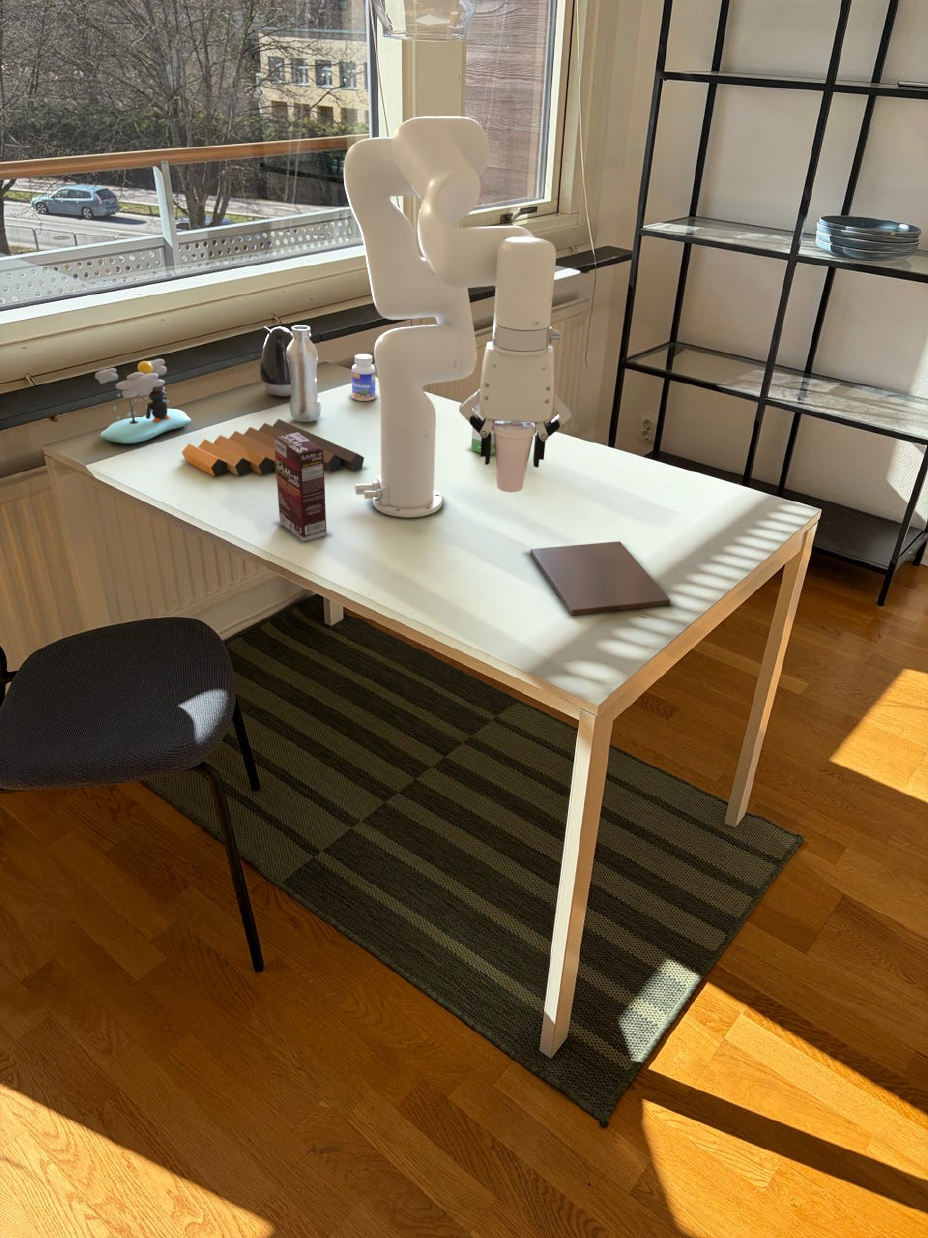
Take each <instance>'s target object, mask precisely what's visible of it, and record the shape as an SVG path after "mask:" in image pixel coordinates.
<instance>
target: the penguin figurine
mask: <svg viewBox="0 0 928 1238" xmlns="http://www.w3.org/2000/svg"><path fill="white" fill-rule="evenodd" d="M165 364H166V362H165V360H164V359H163V358H157V359H153V360H148V361H147V360H143V361H140V362H139V363H138V365H137V371H136V372H132V373H131V374H130V371H128V372H127V371H124V373H125V376H126V379H125V380H122V381H119V382H117V383H116V384H115V388H116V389H117V390H122V391H121V393H116V396H117V398H118V399H119V398H120V397H121V395H122V397H123V399H129V400H128V401H129V405H130V411H129V412H128V413H127V414H125V415H126V417H127V418H125V419H121V418H120V416H117V417H115V418H116V420H118V421H115V422H113V423H111V425H109V426H108V427H107V428H106V429H104V430H103V431H101V433H100V434H99V436H100V439H103V440H106V441H108V442H113V443H118V444H137V443H140V442H141V443H143V442H146V441H148V440H152V439H153V438H155V437H157V436H158V435H159V436H160V435H161V434H164V433H165V432H169V431H172V430H177V429H181V428H183V427H185V426H187V425H189V424H190V423H191V422H192V421H193V420H192V419H191V418H190V417H189V416H188V415H187V413H185V412H184V411H183V410H180V409H177V408H175V409H174V408H168V404H169V400H168V399H167V397H168V393H167V392H166V391H165V390H166V387H165V386H164V385H165V384H166V381H165V380H163V379H162V378H159V376H163V375H165V374H166V373H167V369H168V368H167V367H166V366H165ZM124 370H127V369H126V367H125V368H124ZM94 378H95V380H98V382H99V384H100V385H103V384H106V383H109V382H114V381H116V380H118V378H119V376H118V374H117V369H116V368H114V367H111V368H107V369H101V370H99V371H97V372H95V375H94ZM137 396H139V397H143V396H144V397H143V398H144V399H143V400H148V399H150V400H151V402H148V403H147V405H146V406H145V409H146V412H145V414H144V415H143V416H138V417H135V415H136V414H137V410H134V405H136V403H137V401H139V402H140V403H142V401H143V400H142V398H135V397H137ZM132 398H134V401H133V400H132ZM116 409H117V407H116V405H113V406H112V410H116Z"/></svg>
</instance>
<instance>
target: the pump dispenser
mask: <svg viewBox="0 0 928 1238" xmlns="http://www.w3.org/2000/svg"><path fill="white" fill-rule="evenodd" d="M261 331H262V332H263V333H264V334H265V335H266V338H265V341H264V344H263V348H262V352H261V357H260V366H259V379H260V381H261V382H262V385H263V388H265V390H266V391H267V392H268V393H270V394H271V395H273V396H276V397H291V378H290V371H289V366H288V361H287V356H286V351H287V348H288V346H289V344H290V343H291V341H292V340H293V337H292V331H290V330H289V329H288V328H286V327H283V326H277V327H274V328H271V329H269V328H268V327H266V326H263V327H262V328H261Z"/></svg>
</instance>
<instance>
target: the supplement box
mask: <svg viewBox="0 0 928 1238" xmlns="http://www.w3.org/2000/svg"><path fill="white" fill-rule="evenodd" d="M274 445H275V459H276V469H275V471H276V473H275V474H276V483H277V484H276V485H277V486H276V487H277V488H276V489H277V500H278V502H277V503H278V516H279V524H280V525H282V526H283V527H284V528H286V529H287V530H289V531H290V532H291V533H293V535H295V536H296V537H297V538H298V539H300V540H301V541H302V542H303V543H304V542H307V541H311V540H315V539H318V538H322V537H325V536H327V533H328V532H327V515H326V514H327V513H326V512H327V511H326V489H325V487H326V486H325V485H326V484H325V469H324V458H323V449H322V448H321V447H318V446H317V445H315V444H314V443H312V442H311V441H309V440H308V439H306V438H305V437H303V436H302V435H300V434H299V433H298V432H296V433H291V434H286V435H282V436H278V437H275V438H274Z"/></svg>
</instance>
